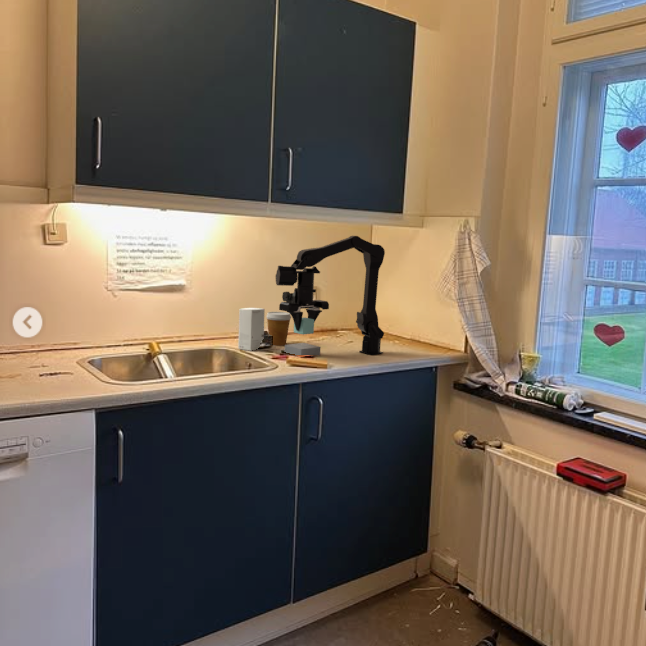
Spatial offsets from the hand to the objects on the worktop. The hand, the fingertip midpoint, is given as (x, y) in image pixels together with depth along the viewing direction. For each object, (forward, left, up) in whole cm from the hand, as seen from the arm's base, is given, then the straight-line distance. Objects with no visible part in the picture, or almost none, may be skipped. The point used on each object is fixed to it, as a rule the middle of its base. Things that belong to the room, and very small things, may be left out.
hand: (303, 330), depth 221 cm
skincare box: (+10, -17, -9) cm, 22 cm away
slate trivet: (0, 0, -9) cm, 9 cm away
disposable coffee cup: (-4, -19, -9) cm, 21 cm away
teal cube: (0, 0, -1) cm, 1 cm away
